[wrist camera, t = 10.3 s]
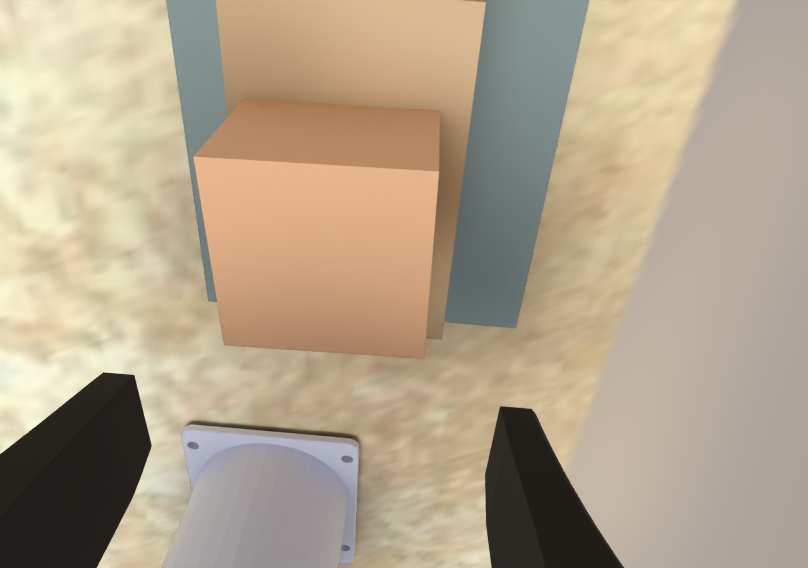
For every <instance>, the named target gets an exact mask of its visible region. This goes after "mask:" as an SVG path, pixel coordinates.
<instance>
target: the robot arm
mask: <svg viewBox="0 0 808 568" xmlns="http://www.w3.org/2000/svg"><path fill="white" fill-rule="evenodd" d="M181 438H182V443H183V448H184V453H185V458H186V463H187V468H188V472H189V477H190V482H191V487H192V494H191V496H190V499H189V501H188V504H187V506H186V509H185V511H184V514H183V516H182V519H181V521H180V524H179V526H178V529H177V531H176V534H175V536H174V539H173V541H172V544H171V546H170V549H169V551H168V554H167V556H166V559H165V561H164V564H163V566H162V568H338V564H339V563H340V564H349V563H351V562H353V561H354V557H355V538H356V514H357V490H358V466H359V444H358V443H357V441H355V440H353V439H350V438H340V437H329V436H318V435H306V434H295V433H284V432H272V431H261V430H250V429H239V428H227V427H216V426H205V425H187V426H185V428H184V429H183V431H182V433H181ZM151 446H152V445H151V441H150V437H149V433H148V429H147V425H146V421H145V417H144V413H143V409H142V405H141V401H140V397H139V393H138V389H137V384H136V380H135V376H134V375H127V374H115V373H104V372H103V373H102V374H101V375H100V376H98V377H97V378H96V379H94V380H93V381H92V382H91V383H89V384H88V385H87V386H86V387H84V388H83V389H82V390H81V391H79V392H78V393H77V394H76V395H74V396H73V397H72V398H71V399H69V400H68V401H67V402H66V403H65V404H63V405H62V406H61V407H60V408H58V409H57V410H56V411H55V412H53V413H52V414H51V415H50V416H48V417H47V418H46V419H45V420H43V421H42V422H41V423H40V424H38V425H37V426H36V427H35V428H33V429H32V430H31V431H29V432H28V433H27V434H26V435H24V436H23V437H22V438H20V439H19V440H18V441H17V442H15V443H14V444H13V445H11V446H10V447H9V448H8V449H6V450H5V451H4V452H3V453H1V454H0V568H97V566H98V564H99V562H100V560H101V558H102V556H103V554H104V552H105V551H106V549H107V547H108V545H109V543H110V541H111V539H112V537H113V535H114V533H115V531H116V529H117V527H118V525H119V523H120V521H121V519H122V517H123V515H124V513H125V512H126V510H127V508H128V506H129V504H130V502H131V500H132V497H133V495H134V493H135V490H136V488H137V485H138V483H139V480H140V477H141V475H142V472H143V469H144V466H145V463H146V461H147V458H148V455H149V452H150V449H151ZM346 455H348V456H346ZM485 492H486V526H487V535H488V543H489V550H490V558H491V566H492V568H624V567H623V566H622V564H621V563H620V561H619V560H618V558H617V557H616V556H615V554H614V553H613V551H612V549H611V548H610V546H609V545H608V543H607V542H606V540H605V539H604V537H603V536H602V534H601V533H600V531H599V530H598V528H597V526H596V525H595V523H594V522H593V520H592V518H591V517H590V515H589V514H588V512H587V510H586V509H585V507H584V505H583V503H582V502H581V500H580V498H579V497H578V495H577V493H576V492H575V490H574V488H573V486H572V485H571V483H570V481H569V479H568V478H567V476H566V474H565V472H564V470H563V468H562V467H561V465H560V463H559V461H558V459H557V457H556V455H555V453H554V451H553V449H552V447H551V445H550V443H549V441H548V439H547V437H546V435H545V433H544V431H543V429H542V427H541V425H540V422H539V420H538V418H537V416H536V414H535V412H534V411H533V410H532V409H526V408H514V407H503V406H500V409H499V414H498V419H497V423H496V428H495V432H494V437H493V441H492V446H491V450H490V455H489V460H488V464H487V469H486V473H485Z"/></svg>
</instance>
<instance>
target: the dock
mask: <svg viewBox="0 0 808 568" xmlns="http://www.w3.org/2000/svg"><path fill="white" fill-rule="evenodd" d="M485 1H486V6H485V13H484V21H483V29H482V36H481V44H480V51H479V59H478V67H477V74H476V82H475V89H474V97H473V105H472V112H471V120H470V127H469V135H468V142H467V150H466V158H465V165H464V173H463V180H462V188H461V196H460V203H459V211H458V218H457V226H456V234H455V241H454V249H453V256H452V264H451V272H450V279H449V287H448V294H447V302H446V309H445V317H444V322H451V323H463V324H474V325H486V326H497V327H508V328H516V326H517V321H518V317H519V312H520V308H521V303H522V299H523V294H524V290H525V285H526V281H527V276H528V272H529V267H530V263H531V258H532V254H533V249H534V245H535V240H536V236H537V231H538V227H539V222H540V218H541V214H542V209H543V205H544V200H545V196H546V191H547V187H548V182H549V178H550V173H551V169H552V164H553V160H554V155H555V151H556V146H557V142H558V137H559V133H560V128H561V124H562V119H563V115H564V110H565V106H566V102H567V97H568V93H569V88H570V84H571V79H572V75H573V70H574V66H575V61H576V57H577V52H578V48H579V43H580V39H581V34H582V30H583V25H584V21H585V16H586V12H587V7H588V3H589V0H485ZM166 3H167V10H168V17H169V24H170V31H171V38H172V45H173V53H174V60H175V67H176V74H177V81H178V88H179V95H180V102H181V110H182V117H183V124H184V131H185V138H186V145H187V152H188V159H189V167H190V174H191V181H192V188H193V195H194V202H195V209H196V216H197V224H198V231H199V238H200V245H201V252H202V259H203V266H204V273H205V281H206V288H207V295H208V301H212V302H217V298H216V292H215V286H214V279H213V273H212V267H211V261H210V255H209V249H208V243H207V237H206V231H205V225H204V218H203V212H202V206H201V200H200V194H199V188H198V182H197V176H196V170H195V164H194V157H193V156H194V155H195V154H196V153H197V152H198V151H199V150H200V148H201V147H202V146H203V145H204V144H205V143H206V141H207V140H208V139H209V138H210V137H211V136H212V135H213V133H214V132H215V131H216V130H217V129H218V128H219V126H220V125H221V124H222V123H223V122H224V121H225V120H226V118H227V117H228V116H227V106H226V97H225V87H224V77H223V67H222V57H221V47H220V37H219V27H218V17H217V7H216V0H166Z"/></svg>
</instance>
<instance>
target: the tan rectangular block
mask: <svg viewBox="0 0 808 568" xmlns="http://www.w3.org/2000/svg"><path fill="white" fill-rule="evenodd" d="M485 6H486V1H485V0H216V7H217V17H218V27H219V37H220V47H221V57H222V67H223V77H224V87H225V97H226V106H227V116H229V115H230V114H231V113H232V111H233V110H234V109H235V108H236V107H237V106H238V105H239V103H240V102H241V101H242V100H243V99H252V100H269V101H286V102H303V103H320V104H337V105H354V106H371V107H388V108H405V109H422V110H439V111H440V141H439V180H438V192H437V204H436V217H435V229H434V242H433V254H432V266H431V279H430V291H429V304H428V316H427V329H426V338H430V339H442V332H443V325H444V317H445V309H446V302H447V294H448V287H449V279H450V272H451V264H452V256H453V249H454V241H455V234H456V226H457V218H458V211H459V203H460V196H461V188H462V180H463V173H464V165H465V158H466V150H467V142H468V135H469V127H470V120H471V112H472V105H473V97H474V89H475V82H476V74H477V67H478V59H479V51H480V44H481V36H482V29H483V21H484V13H485Z"/></svg>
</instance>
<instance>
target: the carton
mask: <svg viewBox="0 0 808 568" xmlns="http://www.w3.org/2000/svg"><path fill="white" fill-rule="evenodd" d="M439 141H440V111H439V110H422V109H405V108H388V107H371V106H354V105H337V104H320V103H303V102H286V101H269V100H252V99H243V100H242V101H241V102H240V103H239V105H238V106H237V107H236V108H235V109H234V110H233V111H232V113H231V114H230V115H229V116H228V117H227V118H226V120H225V121H224V122H223V123H222V124H221V125H220V126H219V128H218V129H217V130H216V131H215V132H214V133H213V135H212V136H211V137H210V138H209V139H208V140H207V141H206V143H205V144H204V145H203V146H202V147H201V148H200V150H199V151H198V152H197V153H196V154H195V155H194V156H193V157H194V164H195V170H196V176H197V182H198V188H199V194H200V200H201V206H202V212H203V218H204V225H205V231H206V237H207V243H208V249H209V255H210V261H211V267H212V273H213V279H214V286H215V292H216V298H217V304H218V310H219V316H220V322H221V328H222V334H223V340H224V345H229V346H244V347H259V348H274V349H289V350H304V351H319V352H334V353H349V354H364V355H378V356H393V357H408V358H423V359H424V353H425V341H426V329H427V316H428V304H429V291H430V279H431V266H432V254H433V242H434V229H435V217H436V204H437V192H438V180H439Z"/></svg>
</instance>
